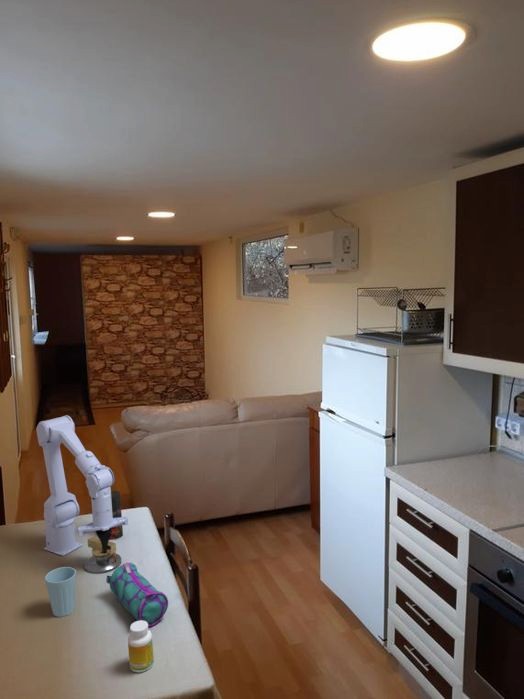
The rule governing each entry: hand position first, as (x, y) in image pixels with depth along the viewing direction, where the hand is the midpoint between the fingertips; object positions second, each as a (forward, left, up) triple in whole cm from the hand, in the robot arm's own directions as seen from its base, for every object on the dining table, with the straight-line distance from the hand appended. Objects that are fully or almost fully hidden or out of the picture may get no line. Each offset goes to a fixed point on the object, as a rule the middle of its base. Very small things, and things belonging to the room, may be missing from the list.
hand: (105, 551), depth 166 cm
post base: (-3, +2, -6) cm, 7 cm away
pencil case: (+23, -10, -6) cm, 25 cm away
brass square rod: (-3, +2, -2) cm, 4 cm away
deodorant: (-14, +17, -6) cm, 23 cm away
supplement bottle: (+39, -25, -6) cm, 46 cm away
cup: (+6, -20, -6) cm, 22 cm away
